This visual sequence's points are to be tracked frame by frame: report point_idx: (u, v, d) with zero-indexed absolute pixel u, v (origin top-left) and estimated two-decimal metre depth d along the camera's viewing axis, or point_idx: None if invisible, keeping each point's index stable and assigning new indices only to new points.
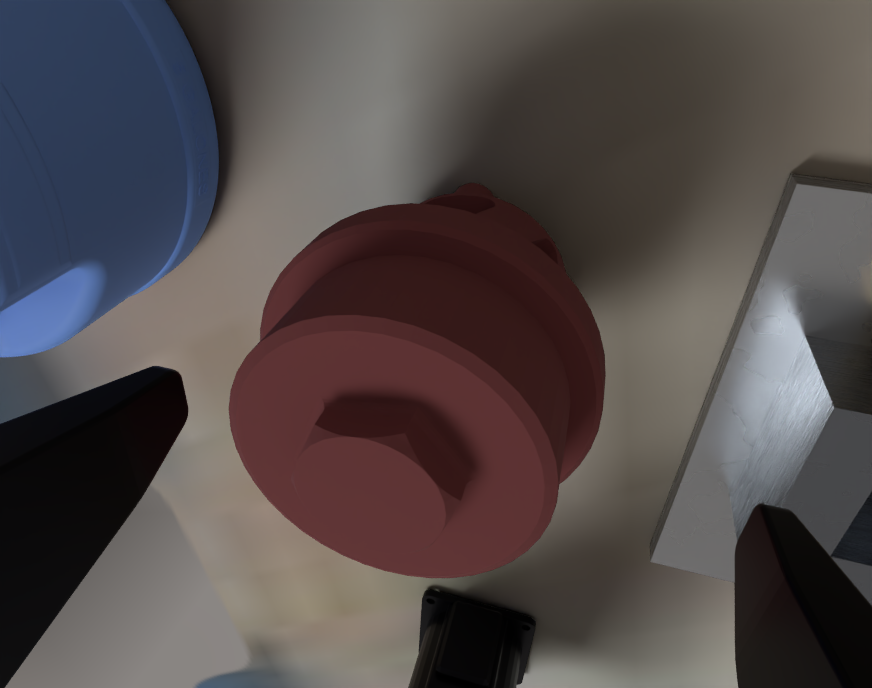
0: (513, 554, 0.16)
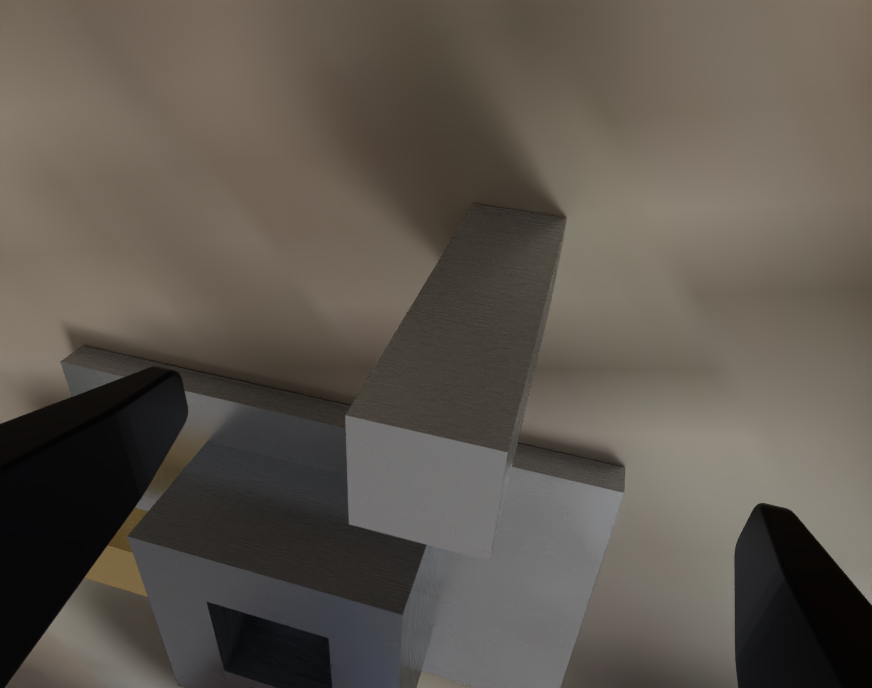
0: None
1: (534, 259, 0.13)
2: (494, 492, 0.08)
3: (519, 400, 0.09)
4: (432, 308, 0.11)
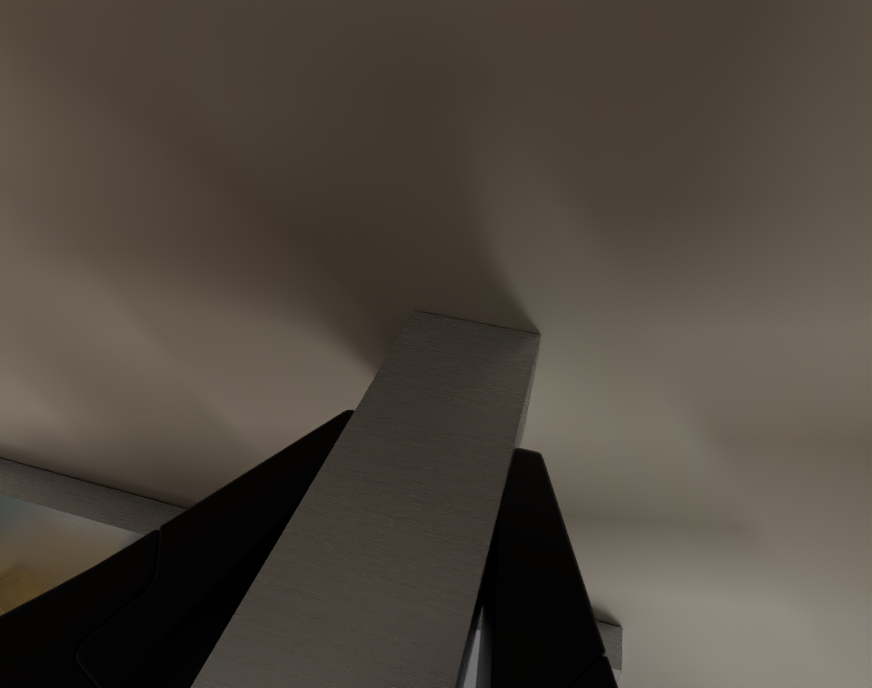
0: None
1: (487, 421, 0.09)
2: None
3: None
4: (313, 541, 0.07)
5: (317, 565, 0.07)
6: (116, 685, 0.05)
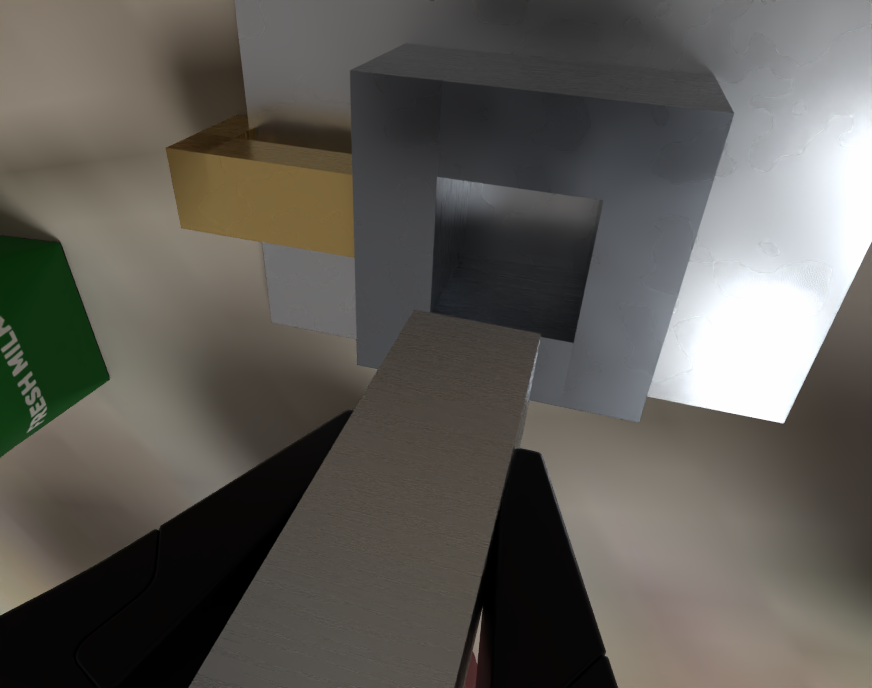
0: None
1: (488, 420, 0.09)
2: None
3: None
4: (312, 540, 0.07)
5: (317, 563, 0.06)
6: (116, 685, 0.05)
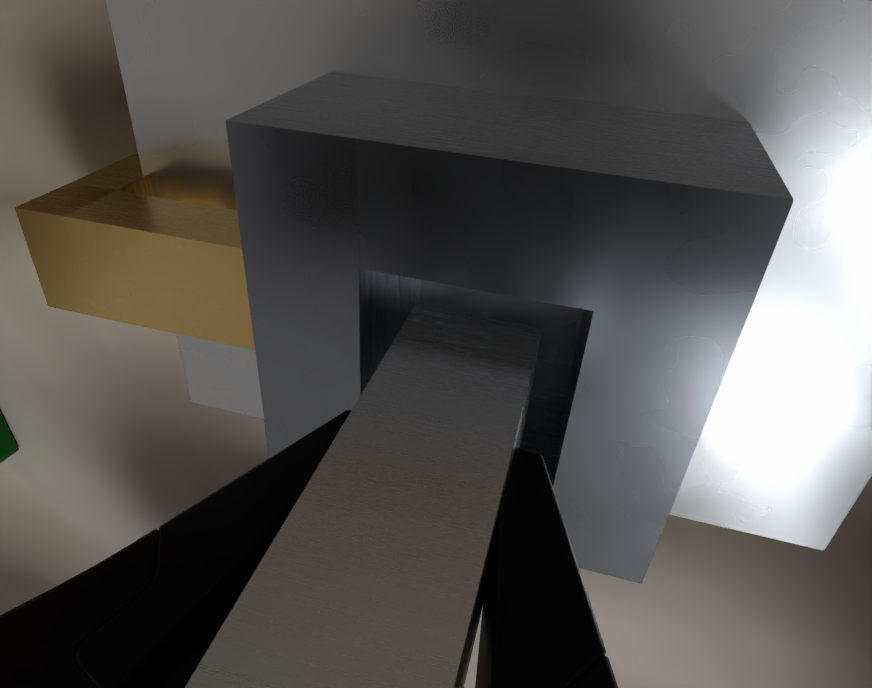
0: None
1: (489, 412, 0.09)
2: None
3: None
4: (315, 530, 0.07)
5: (319, 553, 0.07)
6: (116, 685, 0.05)
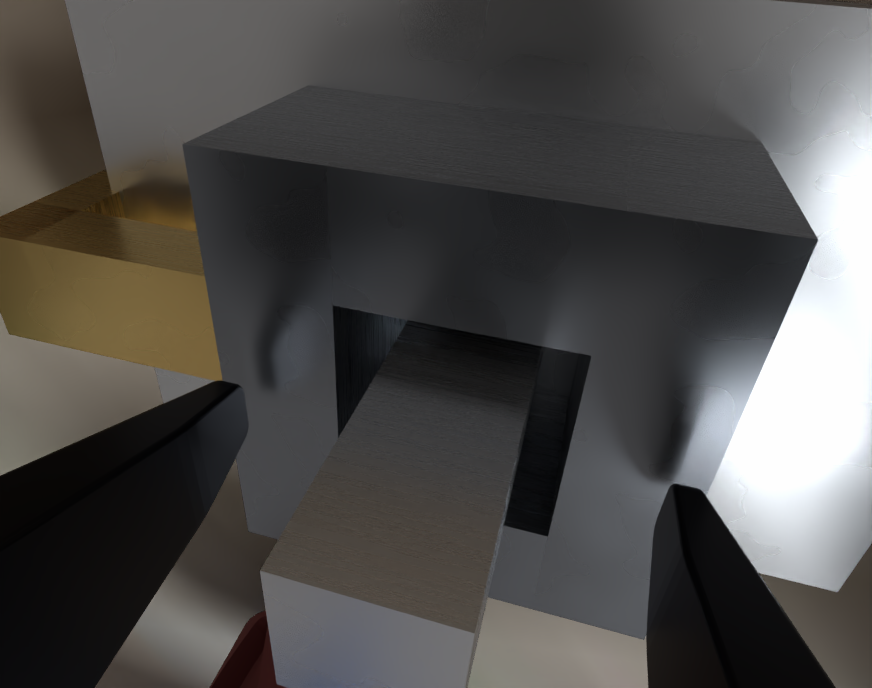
0: None
1: None
2: (458, 673, 0.06)
3: (494, 542, 0.07)
4: (391, 395, 0.09)
5: (397, 409, 0.08)
6: None
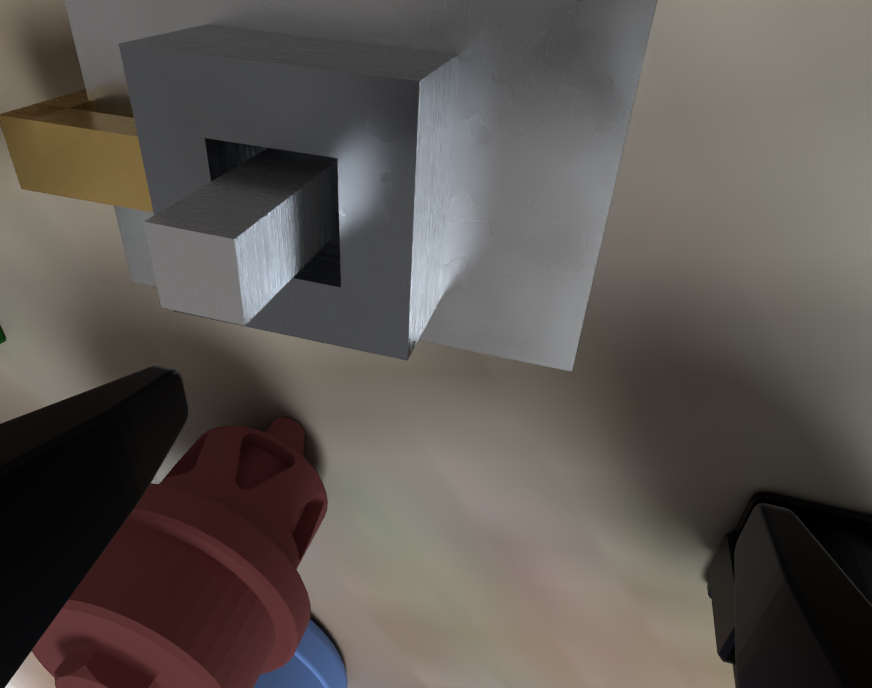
0: (154, 640, 0.20)
1: (322, 158, 0.18)
2: (234, 270, 0.14)
3: (258, 220, 0.14)
4: (231, 179, 0.16)
5: (231, 183, 0.16)
6: None
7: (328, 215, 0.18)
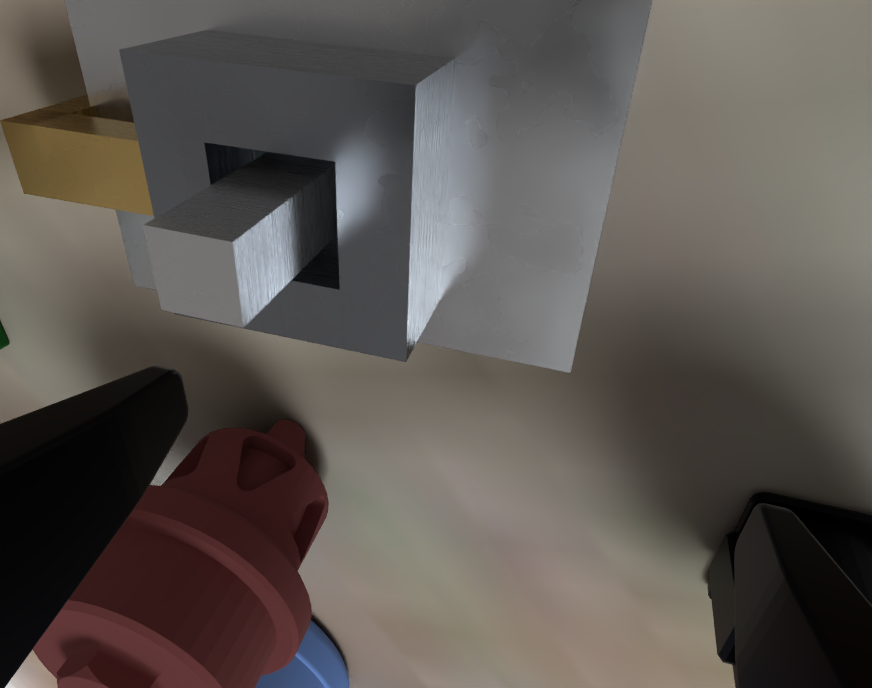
0: (155, 640, 0.20)
1: (321, 162, 0.18)
2: (233, 273, 0.14)
3: (256, 223, 0.14)
4: (230, 183, 0.16)
5: (230, 187, 0.16)
6: None
7: (327, 218, 0.18)
